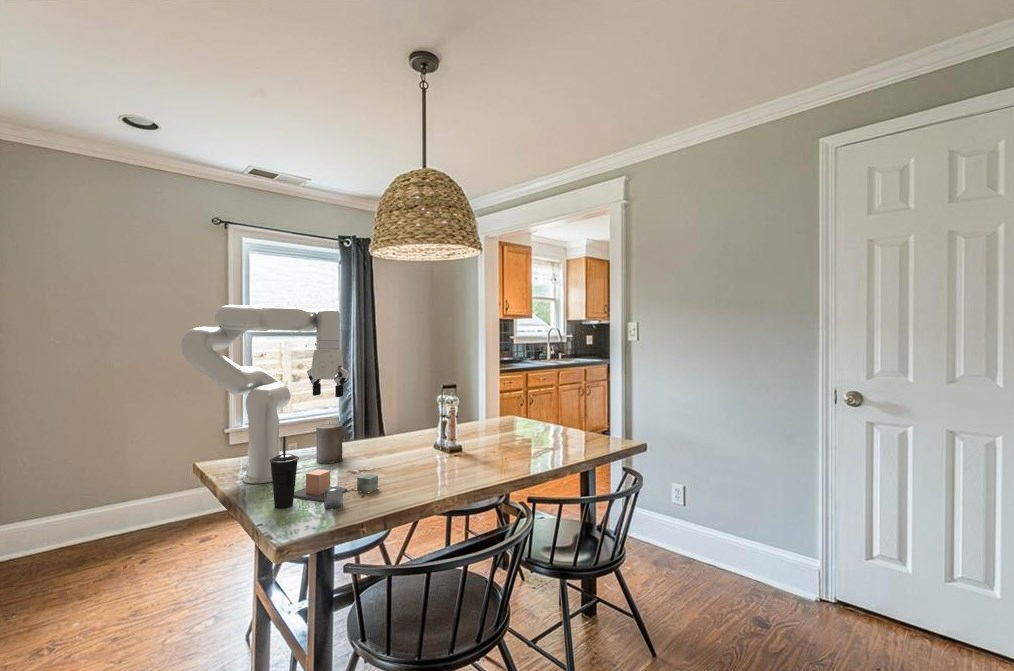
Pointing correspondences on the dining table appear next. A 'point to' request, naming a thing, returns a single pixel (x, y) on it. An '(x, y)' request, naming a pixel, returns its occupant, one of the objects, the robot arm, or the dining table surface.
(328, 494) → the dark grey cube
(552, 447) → the dining table surface
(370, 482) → the green cube
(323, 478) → the terracotta block
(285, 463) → the drinking cup
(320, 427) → the pillar candle
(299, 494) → the black mat
